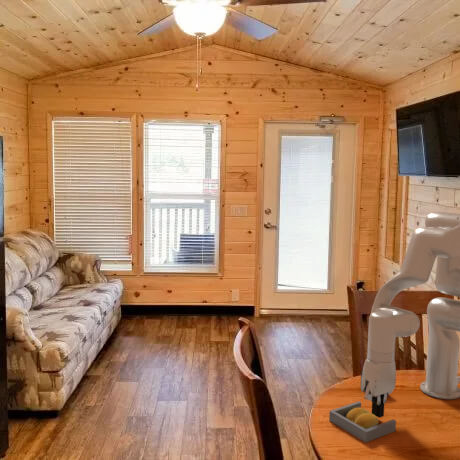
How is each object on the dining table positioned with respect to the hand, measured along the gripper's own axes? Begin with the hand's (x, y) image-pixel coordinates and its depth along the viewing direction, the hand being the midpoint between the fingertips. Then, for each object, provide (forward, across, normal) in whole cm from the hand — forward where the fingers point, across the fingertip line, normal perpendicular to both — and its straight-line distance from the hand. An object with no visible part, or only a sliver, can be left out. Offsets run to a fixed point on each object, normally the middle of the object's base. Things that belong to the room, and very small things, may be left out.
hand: (377, 415), depth 149 cm
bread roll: (+2, +5, -1) cm, 6 cm away
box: (+2, +6, 0) cm, 6 cm away
